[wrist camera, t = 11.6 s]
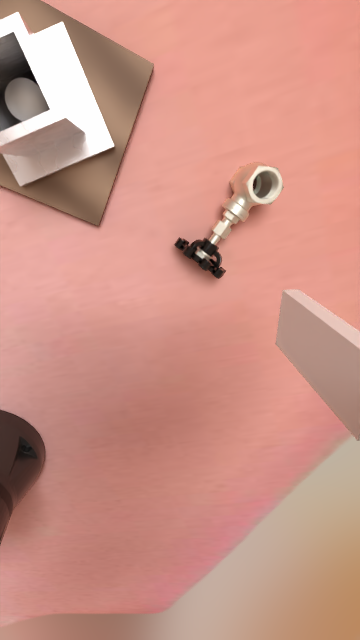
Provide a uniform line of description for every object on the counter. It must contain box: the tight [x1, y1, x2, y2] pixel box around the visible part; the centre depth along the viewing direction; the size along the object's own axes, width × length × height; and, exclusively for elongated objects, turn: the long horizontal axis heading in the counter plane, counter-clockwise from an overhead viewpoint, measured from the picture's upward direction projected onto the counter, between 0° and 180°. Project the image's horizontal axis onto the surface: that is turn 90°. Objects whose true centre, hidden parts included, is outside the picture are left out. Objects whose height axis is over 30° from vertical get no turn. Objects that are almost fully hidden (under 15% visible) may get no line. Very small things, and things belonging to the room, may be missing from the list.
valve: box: [174, 162, 284, 279], centre depth 37 cm, size 7×7×12 cm
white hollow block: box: [0, 12, 115, 186], centre depth 27 cm, size 10×10×11 cm
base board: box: [0, 0, 154, 226], centre depth 30 cm, size 16×16×8 cm
